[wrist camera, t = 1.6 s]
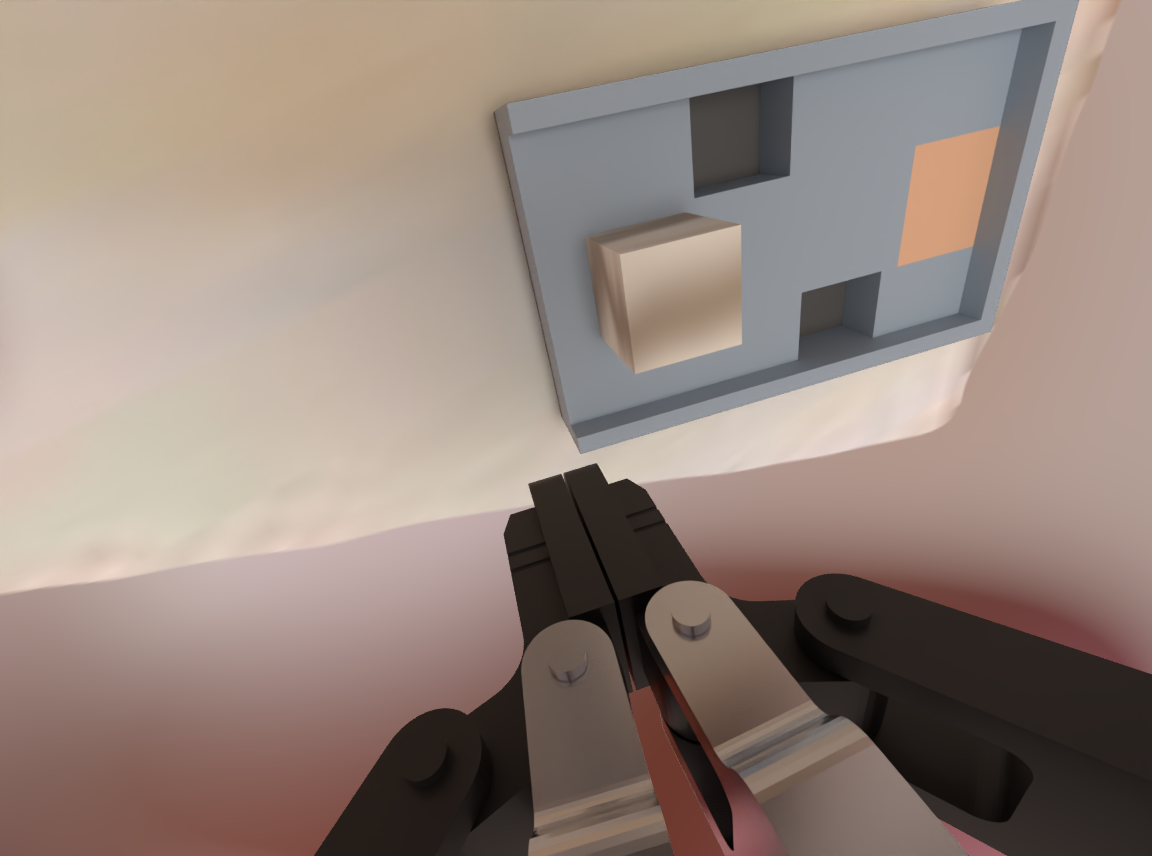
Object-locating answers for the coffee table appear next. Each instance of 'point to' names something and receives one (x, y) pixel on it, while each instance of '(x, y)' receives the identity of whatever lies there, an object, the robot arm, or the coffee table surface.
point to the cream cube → (668, 288)
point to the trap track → (792, 202)
